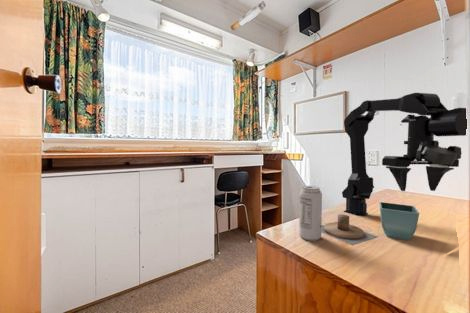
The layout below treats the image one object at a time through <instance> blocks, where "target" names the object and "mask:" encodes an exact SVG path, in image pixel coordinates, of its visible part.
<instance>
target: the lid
mask: <svg viewBox="0 0 470 313" xmlns="http://www.w3.org/2000/svg"><path fill="white" fill-rule="evenodd" d="M323 225H324V231H325V232H326V233H327V234H329V235H332V236H334V237H338V238H343V239H361V238H363V237H364V232H365V231H364V230H363V229H362V228H360V227H358V226H356V225H353V224H350V216H349V215H346V214H340V213H339V214H337V223H334V222H327V223H326V224H323ZM327 234H326V235H327ZM329 235H328V236H329ZM334 237H333V238H334Z"/></svg>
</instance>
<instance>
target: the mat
mask: <svg viewBox="0 0 470 313" xmlns="http://www.w3.org/2000/svg"><path fill="white" fill-rule="evenodd" d="M333 223H338V221H337V222H336V221H335V222H333ZM324 225H325V224H323V225H322V224H321V234H324V235H327V236H329V237H332V238H334V239H337V240H339V241H342V242H344V243H345V244H349V245H351V246H354V245H357V244H361V243H363V242H367V241H369V240H372V239H375V238H378V237H379V236H378V235H375V234H372V233H369V232H366V231H364V237H363V238H361V239H343V238H338V237H334V236H332V235H329V234H327V233H326V232H325V231H324Z"/></svg>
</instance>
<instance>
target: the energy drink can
mask: <svg viewBox="0 0 470 313" xmlns="http://www.w3.org/2000/svg"><path fill="white" fill-rule="evenodd" d="M320 188H321V187H319V186H316V185H303V186H301V190H300V191H299V220H298V221H299V224H298V225H299V236H300V237H301V239H302V240H306V241H309V242H310V241H311V242H315V241H319V240H320V239H321V238H322V232H321V226H322V219H323V218H322V213H323V212H322V207H323V206H322V205H323V194H322V191H321V189H320Z"/></svg>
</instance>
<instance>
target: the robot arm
mask: <svg viewBox="0 0 470 313" xmlns="http://www.w3.org/2000/svg"><path fill="white" fill-rule="evenodd" d="M466 108H467V107H457V108H456V107H455V108H453V109H447V107H446V106H445V105H444V104H443V103H442V101H441V99H440V97H439V94H436V93H430V92H429V93H427V92H413V93H409V94H406V95H403V96H401V97H397V98H389V99H388V98H386V99H376V100H364V101H362V103H361V104H359V106H358V107H356V108H354V109H353V110H351V111H350V112H349V114H348V115H347V116H346V117H345V119H344V120H343V125H344V130H345V133H346V134H347V135H348V138H349V142H350V144H349V145H350V161H351V162H350V163H351V174H350V176H349V178H348V179H347V186H346V187H345V188H344V189H343V191H342V192H341V194H342V197H343V198H345V201H346V204H345V210H343V213H347V214H350V215H353V216H357V217H362V216H365V215H368V214H369V212H368V211H367V209H368V204H367V203H366V202H367V200H369V199H370V198H371V194H373V191H374V190H373V189H375V186H374V177H372V176H371V177H370V176H369V175H368V173H367V162H366V160H367V159H366V146H365V145H366V144H365V136H366V134H367V133H368V131H369V125H370V123H371V122H372V121H373V120H374V119H375V116H376V115H375V114H376V113H377V112H392V111H393V112H394V111H395V112H396V111H397V112H398V111H399V112H402V113H408V114H407V115H406V116H405V117H404V118H403V119H401V121H400V122H401V123H402V124H403V123H404V124H405V123H406V124H408V126H407V140H403V145H407V147H406V148H407V149H406V154H403V156H401V155H400V156H399V155H385V156H384V157H382V159H381V165H382V166H385V168H386V169H388V170H389V171H390V173H391V174H392V176H393V178H394V179H395V181H396V184H397V186H398V188H399V190H400V191H401V192H406V188H407V179H408V173H409V172H410V171H411V170H412V168H410V167H409V166H411V165H426V166H425V171H426V177H427V182H428V186H429V190H430V191H432V192H433V191H434V192H436V190H437V188H438V186H439V184H440V182H441V181H442V178H443V177H444V175H445V174H447V173H448V172H450V171H452V170H455V168H457V167H459V166H460V165H459V164H460V159H461V158H462V148H461V147H460V146H458V145H457V146H456V145H449V146H448V147H442V146H439V144H440V142H439V141H438V140H434V137H439V138H440V137H460V136H462V137H463V136H467V135H466V129H467V119H466ZM365 113H366V114H365ZM415 114H417V115H415ZM428 116H430V117H428Z"/></svg>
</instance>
